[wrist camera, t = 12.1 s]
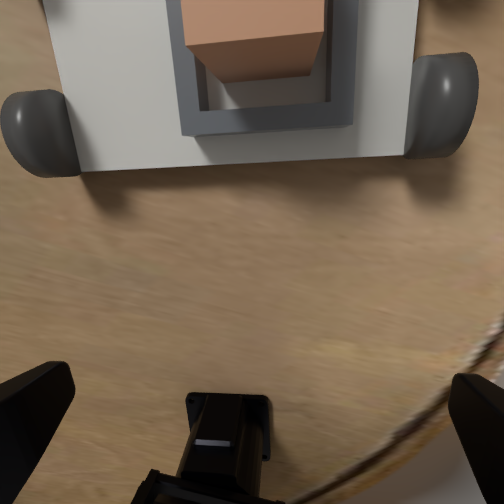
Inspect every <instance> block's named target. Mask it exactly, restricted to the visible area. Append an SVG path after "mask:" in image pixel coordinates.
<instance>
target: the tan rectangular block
mask: <svg viewBox="0 0 504 504" xmlns="http://www.w3.org/2000/svg"><path fill="white" fill-rule="evenodd" d="M181 9H182V19H183V28H184V37H185V46H186V47H187V48H188V49H189V50H190V51H191V52H192V53H193V54H194V55H195V56H196V57H197V58H198V59H199V60H200V61H201V62H202V63H203V64H204V65H205V66H206V67H207V68H208V69H209V70H210V71H211V72H212V73H213V74H214V75H215V76H216V77H217V78H218V79H219V80H220V81H221V82H222V83H232V82H244V81H255V80H267V79H278V78H290V77H301V76H310V73H311V70H312V67H313V64H314V61H315V57H316V54H317V51H318V48H319V45H320V42H321V38H322V35H323V32H324V0H181Z"/></svg>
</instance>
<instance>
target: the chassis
mask: <svg viewBox="0 0 504 504" xmlns="http://www.w3.org/2000/svg"><path fill="white" fill-rule="evenodd" d="M418 3H419V0H324V32H323V35H322V38H321V42H320V45H319V48H318V51H317V54H316V57H315V61H314V64H313V67H312V70H311V73H310V76H301V77H290V78H278V79H267V80H255V81H244V82H232V83H222V82H221V81H220V80H219V79H218V78H217V77H216V76H215V75H214V74H213V73H212V72H211V71H210V70H209V69H208V68H207V67H206V66H205V65H204V64H203V63H202V62H201V61H200V60H199V59H198V58H197V57H196V56H195V55H194V54H193V53H192V52H191V51H190V50H189V49H188V48H187V47H186V46H185V37H184V28H183V19H182V9H181V0H43V5H44V9H45V14H46V18H47V23H48V27H49V31H50V36H51V40H52V45H53V49H54V53H55V58H56V62H57V67H58V71H59V75H60V80H61V84H62V89H63V93H64V95H63V94H62V93H60V92H58V91H55V90H51V89H48V90H36V91H25V92H17V93H13V94H11V95H10V96H9V97H8V98H7V99H6V100H5V101H4V103H3V106H2V109H1V115H0V123H1V130H2V134H3V137H4V140H5V143H6V145H7V147H8V149H9V151H10V152H11V154H12V155H13V157H14V158H15V160H16V161H17V162H18V163H19V164H20V165H21V166H22V167H23V168H24V169H25V170H27V171H28V172H30V173H31V174H33V175H35V176H38V177H42V178H53V177H73V176H78V175H80V174H81V173H83V172H89V171H108V170H127V169H145V168H164V167H183V166H202V165H221V164H240V163H259V162H278V161H296V160H315V159H334V158H353V157H372V156H391V155H402V156H403V157H404V158H406V159H424V158H443V157H448V156H450V155H451V154H453V153H454V152H455V151H456V150H457V149H458V148H459V146H460V145H461V144H462V142H463V140H464V139H465V137H466V135H467V133H468V131H469V128H470V126H471V123H472V120H473V117H474V114H475V110H476V105H477V99H478V89H479V78H478V70H477V66H476V63H475V61H474V59H473V57H472V56H471V55H470V54H468V53H466V52H460V53H448V54H437V55H426V56H421V57H419V58H418V59H416V60H415V62H414V63H413V53H414V43H415V33H416V23H417V13H418ZM412 63H413V64H412Z"/></svg>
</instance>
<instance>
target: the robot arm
mask: <svg viewBox="0 0 504 504" xmlns="http://www.w3.org/2000/svg"><path fill="white" fill-rule="evenodd" d="M74 395H75V384H74V381H73V377H72V374H71V371H70V367H69V365H68V364H67V363H66V362H64V361H49V362H46V363H44V364H41V365H39V366H37V367H35V368H33V369H31V370H29V371H27V372H24V373H22V374H20V375H18V376H16V377H14V378H12V379H10V380H7V381H5V382H3V383H1V384H0V504H12V503H13V502H14V500H15V499H16V497H17V495H18V494H19V492H20V491H21V489H22V488H23V486H24V485H25V483H26V482H27V480H28V478H29V477H30V475H31V474H32V472H33V471H34V469H35V467H36V466H37V464H38V462H39V461H40V459H41V457H42V455H43V454H44V452H45V450H46V448H47V446H48V445H49V443H50V441H51V439H52V437H53V435H54V433H55V432H56V430H57V428H58V426H59V424H60V422H61V421H62V419H63V417H64V415H65V413H66V411H67V409H68V408H69V406H70V404H71V402H72V400H73V398H74ZM192 399H193V400H192ZM185 402H186V408H187V414H188V421H189V427H190V435H189V438H188V441H187V444H186V447H185V450H184V453H183V456H182V458H181V461H180V464H179V467H178V470H177V473H176V476H171V475H167V474H163V473H160V471H158V470H154V469H151V470H150V472H149V474H148V476H147V478H146V480H145V481H142V483H141V485H140V486H139V487H138V489H137V492H136V494H135V496H134V498H133V500H132V502H131V504H285V502H282V501H278V500H276V502H275V501H271V500H267V499H263V498H259V490H260V477H261V465H262V461H268V460H269V459H270V454H271V451H270V430H269V409H268V398H267V397H266V396H264V395H248V394H223V393H198V392H191V393H188V395H187V397H186V400H185ZM261 402H263V403H261ZM448 410H449V414H450V417H451V419H452V422H453V424H454V427H455V429H456V432H457V434H458V436H459V439H460V441H461V444H462V446H463V448H464V451H465V454H466V456H467V459H468V461H469V464H470V466H471V468H472V471H473V473H474V476H475V478H476V480H477V483H478V485H479V488H480V490H481V492H482V495H483V497H484V499H485V501H486V503H487V504H504V389H502V388H501V387H499V386H497V385H496V384H494V383H492V382H490V381H489V380H487V379H485V378H484V377H482V376H480V375H478V374H474V373H457V374H455V375H454V377H453V379H452V385H451V390H450V395H449V400H448Z"/></svg>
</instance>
